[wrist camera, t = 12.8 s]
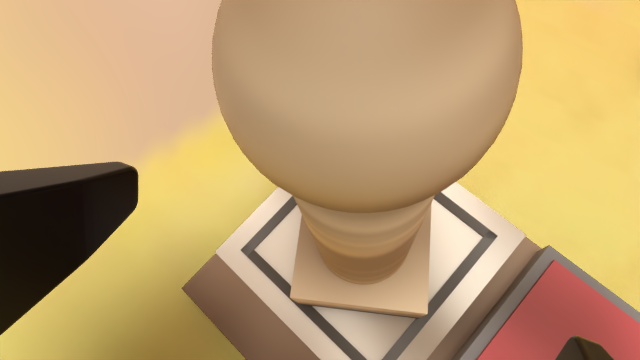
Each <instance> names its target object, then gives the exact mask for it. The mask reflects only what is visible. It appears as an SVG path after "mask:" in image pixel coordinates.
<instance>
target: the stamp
mask: <svg viewBox="0 0 640 360" xmlns="http://www.w3.org/2000/svg"><path fill="white" fill-rule="evenodd" d="M212 42H213V43H212V72H213V79H214V86H215V91H216V96H217V100H218V103H219V106H220V110H221V113H222V115H223V117H224V120H225V122H226V124H227V126H228V128H229V130H230V132H231V134H232V136H233V139H234V140H235V142H236V143H237V145H238V146H239V147H240V149H241V150H242V152H243V153H244V155H245V156H246V157H247V158H248V159H249V161H250V162H251V163H252V164H253V165H254V166H255V167H256V168H257V169H258V170H259V171H260V173H261V174H263V175H264V176H265V177H266V178H268V179H269V180H270V181H271V182H273V183H274V184H275V185H276V186H278V187H280V188H281V189H283V190H285V191H286V192H288V193H290V194H291V195H293V197H294V199H295V201H296V203H297V205H298V207H299V209H300V212H301V214H302V216H301V223H300V230H299V237H298V244H297V251H296V258H295V265H294V272H293V279H292V286H291V292H290V298H291V299H293V300H294V301H296V302H297V303H299V304H301V305H310V306H318V307H326V308H334V309H343V310H351V311H359V312H367V313H376V314H384V315H392V316H400V317H409V318H417V319H419V318H421V317H423V316H425V315H427V314H428V289H429V260H430V231H431V203H432V201H433V199H434V196H435V195H436V194H438V193H440V192H441V191H443V190H445V189H446V188H448V187H449V186H451V185H452V184H453V183H455V182H456V181H458V180H459V179H460V178H462V177H463V176H464V175H465V174H466V173H467V172H468V171H469V170H471V169H472V168H473V167H474V166H475V165H476V164H477V163H478V161H479V160H480V159H481V158H482V157H483V155H484V154H485V153H486V152H487V150H488V149H489V148H490V147H491V145H492V144H493V143H494V142H495V140H496V138H497V136H498V135H499V133H500V131H501V129H502V128H503V126H504V124H505V122H506V120H507V118H508V115H509V113H510V110H511V108H512V105H513V103H514V100H515V97H516V93H517V88H518V83H519V78H520V73H521V68H522V49H523V48H522V30H521V22H520V16H519V12H518V9H517V5H516V1H515V0H222V2H221V4H220V7H219V10H218V14H217V19H216V23H215V29H214V35H213V41H212Z"/></svg>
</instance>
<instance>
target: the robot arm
mask: <svg viewBox="0 0 640 360" xmlns="http://www.w3.org/2000/svg"><path fill="white" fill-rule="evenodd" d="M137 203H138V172H137V170H136V169H135V168H134V167H132V166H130V165H127V164H124V163H122V162H108V163H96V164H84V165H72V166H61V167H50V168H37V169H26V170H14V171H2V172H0V335H1V334H2V333H4V332H5V331H6V330H7V329H8V328H9V327H10V326H12V325H13V324H14V323H15V322H16V321H17V320H19V319H20V318H21V317H22V316H23V315H24V314H25V313H27V312H28V311H29V310H30V309H31V308H32V307H34V306H35V305H36V304H37V303H38V302H39V301H40V300H42V299H43V298H44V297H45V296H46V295H47V294H49V293H50V292H51V291H52V290H53V289H54V288H55V287H57V286H58V285H59V284H60V283H61V282H62V281H64V280H65V279H66V278H67V277H68V276H69V275H70V274H72V273H73V272H74V271H75V270H76V269H77V268H78V267H80V266H81V265H82V264H83V263H84V262H85V261H86V260H87V259H88V258H89V257H90V256H91V255H92V254H93V253H94V252H95V251H96V250H97V249H98V248H99V247H100V246H101V245H102V244H103V243H104V242H105V241H106V240H107V239H108V238H109V236H110V235H111V234H112V233H113V232H114V231H115V230H116V229H117V228H118V227H119V226H120V225H121V224H122V223H123V222H124V221H125V220H126V219H127V218H128V216H129V215H130V214H131V213H132V212H133V211H134V210H135V208H136V206H137ZM555 360H614V359H613V358H612V356H611V355H610V354H609V353H608V352H607V351H606V350H605V349H604V348H603V347H602V346H601V345H600V344H599V343H597V342H594V341H591V340H589V339H586V338H583V337H581V336H578V335H575V336H572V337H570V338H569V339H568V340H567V342H566V343H565V345H564V346H563V348H562V350H561V351H560V353H559V354H558V356H557V357H556V359H555Z"/></svg>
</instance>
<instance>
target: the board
mask: <svg viewBox="0 0 640 360" xmlns="http://www.w3.org/2000/svg"><path fill="white" fill-rule="evenodd" d="M301 216H302V214H301V212H300V209H299V207H298V205H297V203H296V201H295V199H294V197H293V195H291V194H290V193H288V192H286V191H285V190H283V189H281V188H280V187H278V188H277V189H276V190H275V191H274V192H273V193H272V194H271V195H270V196H269V197H268V198H267V199H266V200H265V201H264V202H263V203H262V204H261V205H260V206H259V207H258V208H257V209H256V210H255V211H254V212H253V213H252V214H251V215H250V216H249V217H248V218H247V219H246V220H245V221H244V222H243V223H242V224H241V226H240V227H239V228H238V229H237V230H236V231H235V232H234V233H233V234H232V235H231V236H230V237H229V238H228V239H227V240H226V241H225V242H224V243H223V244H222V245H221V246H220V247H219V248H218V249H217V250H216V251H215V253H216V254H215V255H214V256H213V257H212V258H211V259H210V260H209V261H208V262H207V263H206V264H205V265H204V266H203V267H202V268H201V269H200V270H199V271H198V272H197V273H196V274H195V275H194V276H193V277H192V278H191V279H190V280H189V281H188V282H187V283H186V284H185V285H184V286H183V287H182V289H183V291H184V292H185V293H186V294H187V295H188V296H189V297H190V298H191V299H192V300H193V301H194V303H195V304H196V305H197V306H198V307H199V308H200V309H201V310H202V311H203V312H204V313H205V315H206V316H207V317H208V318H209V319H210V320H211V321H212V322H213V323H214V324H215V326H216V327H217V328H218V329H219V330H220V331H221V332H222V333H223V334H224V335H225V336H226V338H227V339H228V340H229V341H230V342H231V343H232V344H233V345H234V346H235V347H236V349H237V350H238V351H239V352H240V353H241V354H242V355H243V356H244V357H245V358H246V359H247V360H555V359H556V357H557V356H558V354H559V353H560V351H561V350H562V348H563V346H564V345H565V343H566V342H567V340H568V339H569V338H570V337H572V336H575V335H578V336H581V337H583V338H586V339H589V340H591V341H594V342H597V343H599V344H600V345H601V346H602V347H603V348H604V349H605V350H606V351H607V352H608V353H609V354H610V355H611V356H612V358H613V359H614V360H640V313H639V312H638V311H637V310H635V309H634V308H633V307H631V306H630V305H629V304H627V303H626V302H625V301H623V300H622V299H621V298H619V297H618V296H617V295H615V294H614V293H613V292H611V291H610V290H609V289H607V288H606V287H605V286H603V285H602V284H601V283H599V282H598V281H597V280H595V279H594V278H592V277H591V276H590V275H588V274H587V273H586V272H584V271H583V270H582V269H580V268H579V267H578V266H576V265H575V264H574V263H572V262H571V261H570V260H568V259H567V258H566V257H564V256H563V255H562V254H560V253H559V252H558V251H556V250H555V249H554V248H552V247H551V246H550V245H549V246H547V247H545V248H543V249H541V248H540V247H539V246H537V245H536V244H535V243H533V242H532V241H531V240H529V239H528V238H527V237H525V236H526V234H525V233H523V232H522V231H521V230H519V229H518V228H517V227H515V226H514V225H513V224H511V223H510V222H509V221H507V220H506V219H505V218H503V217H502V216H501V215H499V214H498V213H497V212H495V211H494V210H493V209H491V208H490V207H489V206H487V205H486V204H485V203H483V202H482V201H481V200H479V199H478V198H477V197H475V196H474V195H473V194H471V193H470V192H469V191H467V190H466V189H465V188H463V187H462V186H461V185H459V184H458V183H457V182H455V183H453V184H452V185H451V186H449V187H448V188H446V189H445V190H443V191H441V192H440V193H438V194H436V195H435V196H434V199H433V201H432V203H431V231H430V260H429V289H428V314H427V315H425V316H423V317H421V318H419V319H417V318H409V317H400V316H392V315H384V314H376V313H367V312H359V311H351V310H343V309H334V308H326V307H318V306H310V305H301V304H299V303H297V302H296V301H294V300H293V299H291V298H290V292H291V286H292V279H293V272H294V265H295V258H296V251H297V244H298V237H299V230H300V223H301Z"/></svg>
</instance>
